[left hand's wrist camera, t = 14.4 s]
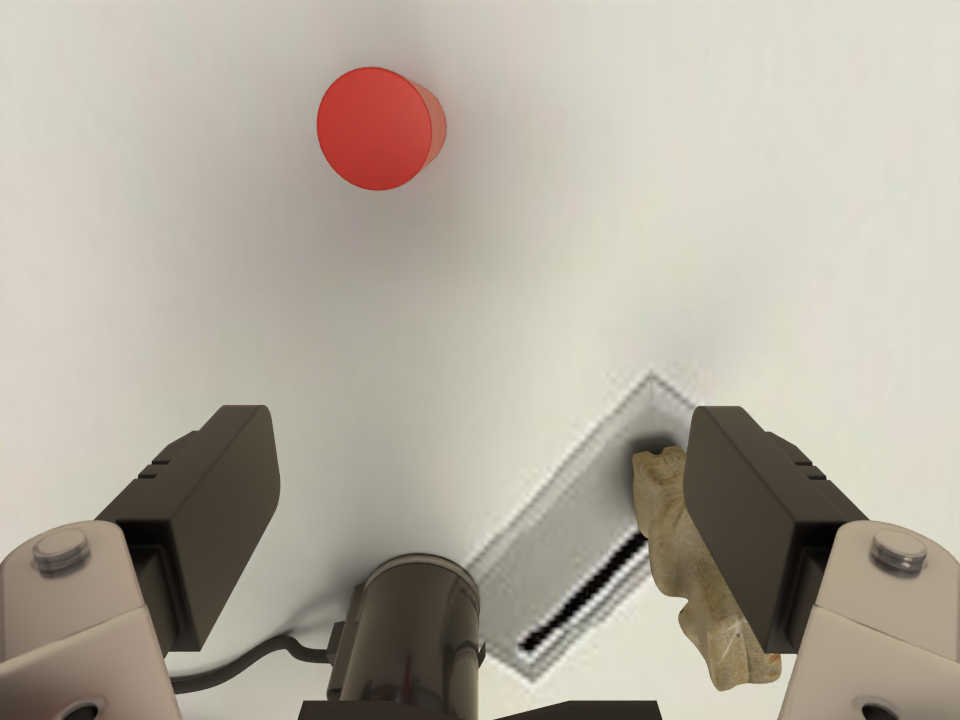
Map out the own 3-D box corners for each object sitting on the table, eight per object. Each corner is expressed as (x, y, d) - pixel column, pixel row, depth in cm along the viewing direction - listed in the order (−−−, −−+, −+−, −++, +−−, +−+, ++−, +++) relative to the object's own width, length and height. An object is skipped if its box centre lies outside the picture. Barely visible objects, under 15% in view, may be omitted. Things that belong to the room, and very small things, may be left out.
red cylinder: (412, 64, 33) (380, 39, 22) (462, 135, 34) (455, 143, 24) (349, 118, 34) (291, 118, 23) (401, 185, 35) (368, 213, 25)
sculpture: (622, 524, 44) (688, 710, 30) (614, 441, 42) (682, 604, 28) (701, 512, 44) (803, 696, 30) (697, 429, 41) (808, 588, 27)
